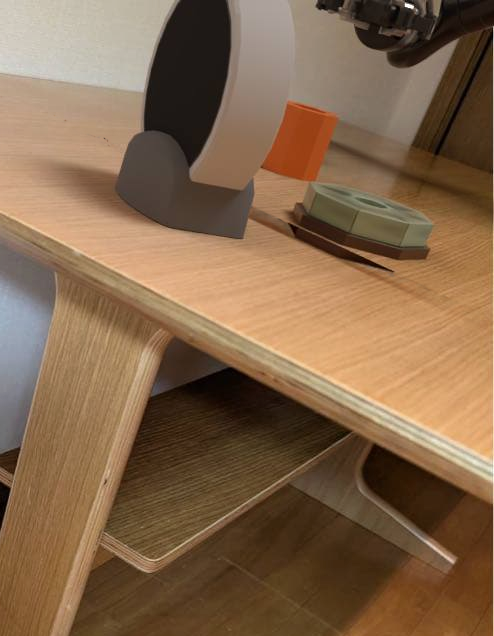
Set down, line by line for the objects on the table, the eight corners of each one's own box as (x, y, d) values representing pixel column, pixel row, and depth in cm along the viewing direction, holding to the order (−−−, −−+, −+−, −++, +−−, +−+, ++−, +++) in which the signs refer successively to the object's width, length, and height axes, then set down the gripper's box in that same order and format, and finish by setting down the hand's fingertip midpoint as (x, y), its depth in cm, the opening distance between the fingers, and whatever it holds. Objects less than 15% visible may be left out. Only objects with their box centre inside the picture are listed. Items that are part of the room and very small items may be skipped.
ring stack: (337, 224, 83) (353, 183, 81) (439, 269, 76) (459, 226, 74) (265, 223, 75) (281, 178, 73) (371, 273, 69) (391, 225, 67)
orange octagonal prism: (280, 174, 101) (304, 103, 97) (320, 191, 98) (348, 118, 93) (248, 171, 97) (272, 97, 93) (289, 189, 94) (315, 113, 89)
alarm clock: (95, 174, 76) (148, -65, 65) (192, 191, 79) (256, -32, 69) (158, 231, 64) (236, -50, 53) (269, 249, 67) (361, -11, 57)
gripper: (429, 65, 108) (410, 61, 95) (327, 35, 112) (296, 28, 99) (456, -2, 103) (440, -15, 91) (350, -30, 107) (321, -46, 95)
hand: (365, 7), depth 95 cm, fingers open, 8 cm apart
